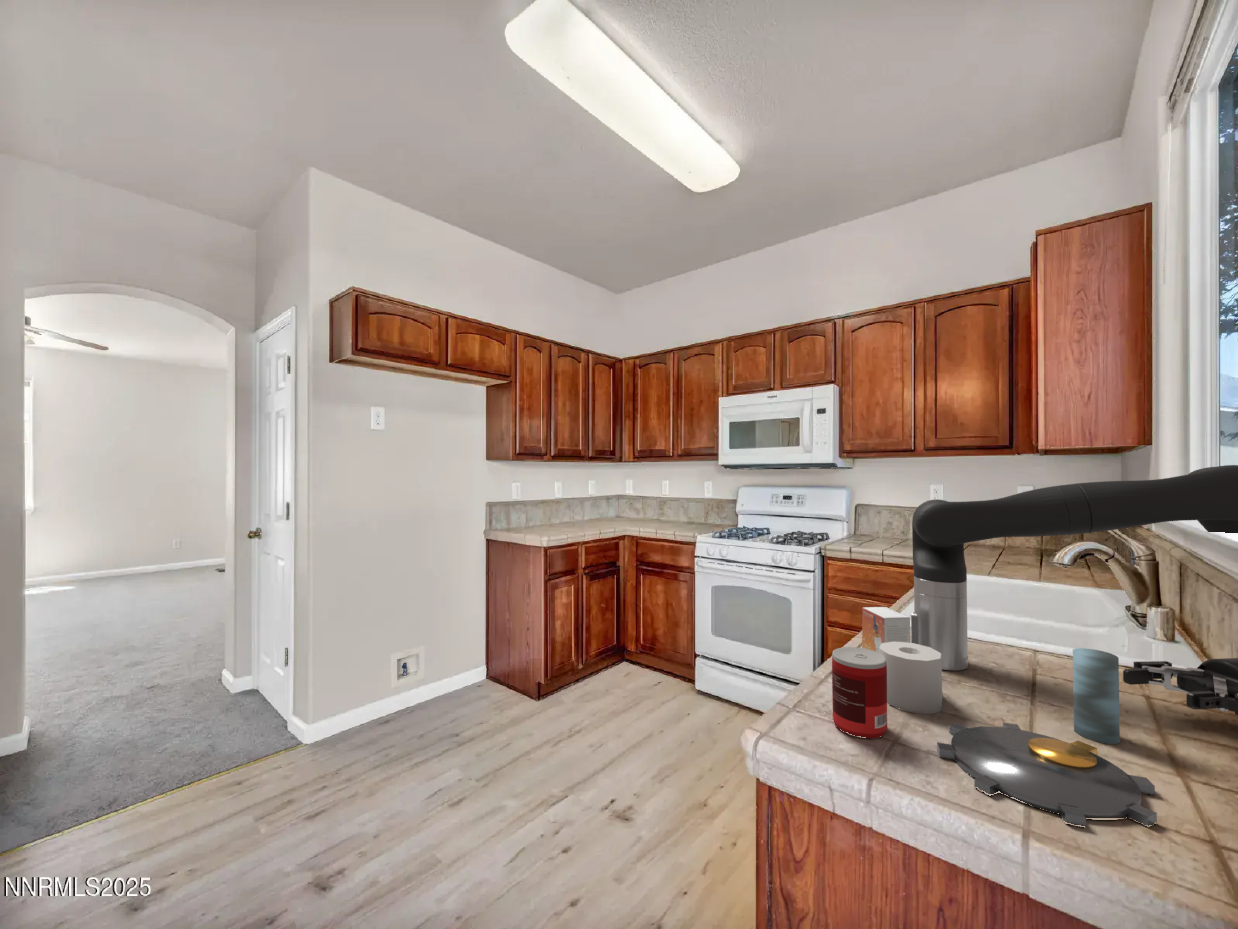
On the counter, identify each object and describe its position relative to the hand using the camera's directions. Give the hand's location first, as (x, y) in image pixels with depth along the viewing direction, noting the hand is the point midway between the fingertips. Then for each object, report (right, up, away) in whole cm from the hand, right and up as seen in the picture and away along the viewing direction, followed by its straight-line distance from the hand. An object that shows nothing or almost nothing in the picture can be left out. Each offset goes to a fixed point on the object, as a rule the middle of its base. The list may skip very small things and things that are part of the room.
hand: (1155, 688), depth 78 cm
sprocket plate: (-26, -6, -10) cm, 29 cm away
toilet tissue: (-30, -7, +11) cm, 33 cm away
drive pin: (-10, -6, -1) cm, 12 cm away
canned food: (-44, -7, +2) cm, 44 cm away
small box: (-26, -7, +28) cm, 39 cm away
